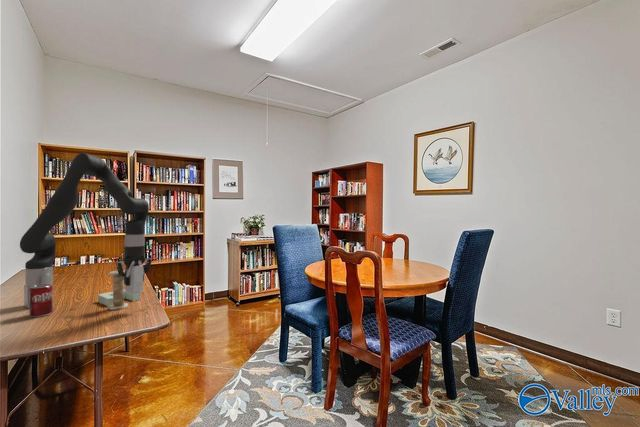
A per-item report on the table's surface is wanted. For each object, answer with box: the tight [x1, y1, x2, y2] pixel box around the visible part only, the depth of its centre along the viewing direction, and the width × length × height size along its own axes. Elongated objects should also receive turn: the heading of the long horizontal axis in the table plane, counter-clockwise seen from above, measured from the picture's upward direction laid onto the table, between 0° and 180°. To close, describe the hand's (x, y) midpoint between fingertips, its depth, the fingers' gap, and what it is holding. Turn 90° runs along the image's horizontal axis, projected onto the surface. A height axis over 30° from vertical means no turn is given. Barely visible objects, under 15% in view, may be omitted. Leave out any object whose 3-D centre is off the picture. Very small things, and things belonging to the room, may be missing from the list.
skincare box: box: [124, 264, 144, 295], centre depth 133 cm, size 6×4×12 cm
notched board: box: [97, 289, 141, 308], centre depth 148 cm, size 14×12×4 cm
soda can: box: [28, 284, 54, 318], centre depth 128 cm, size 7×7×12 cm
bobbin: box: [108, 269, 129, 311], centre depth 138 cm, size 7×7×16 cm
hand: (134, 284), depth 133 cm, fingers closed on skincare box, 4 cm apart
